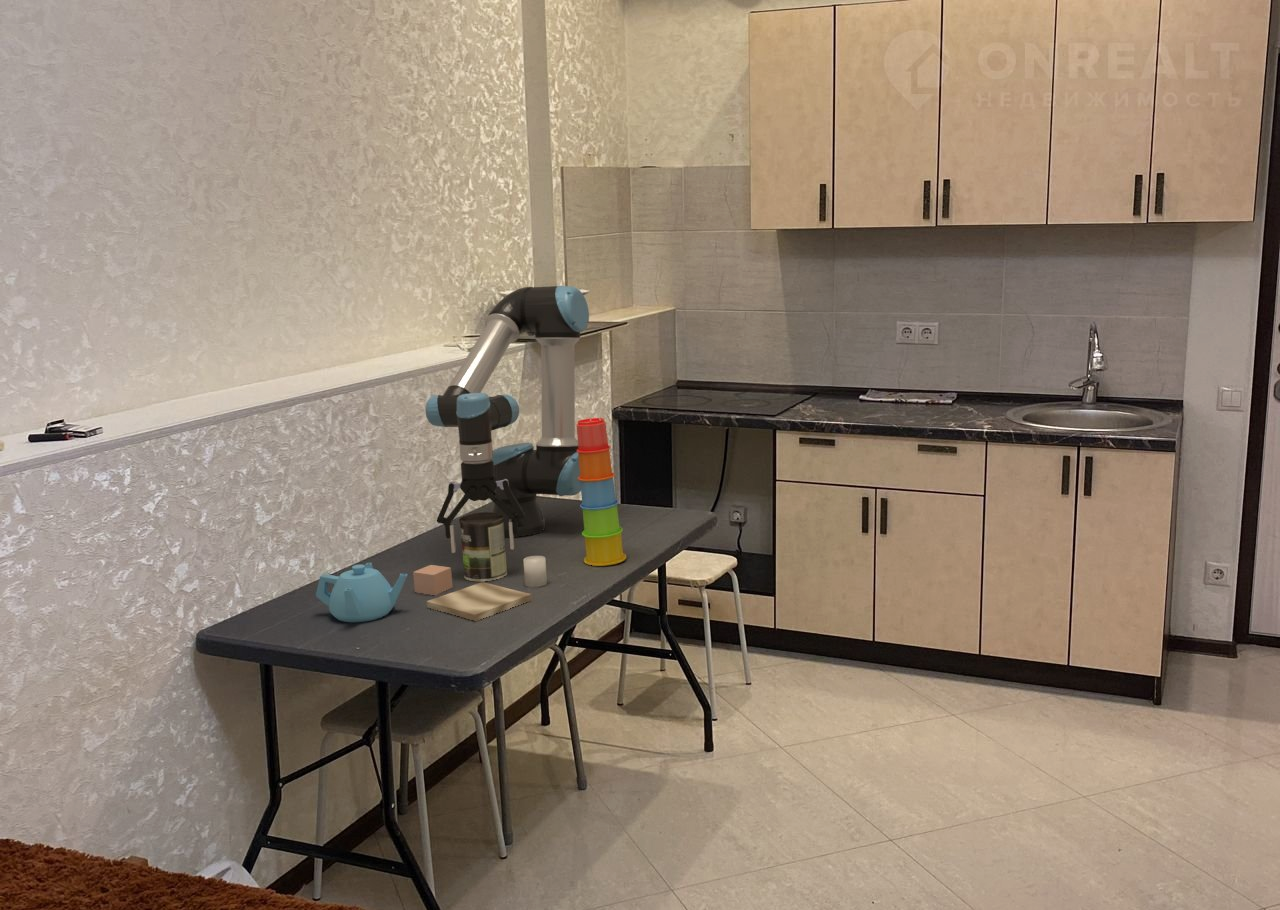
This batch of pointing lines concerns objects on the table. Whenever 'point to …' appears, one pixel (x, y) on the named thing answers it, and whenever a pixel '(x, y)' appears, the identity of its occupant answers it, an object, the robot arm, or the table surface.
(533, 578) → the off-white cylinder
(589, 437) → the stacking cups
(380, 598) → the teapot
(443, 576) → the terracotta block
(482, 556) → the coffee can
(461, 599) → the birch board
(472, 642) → the table surface
